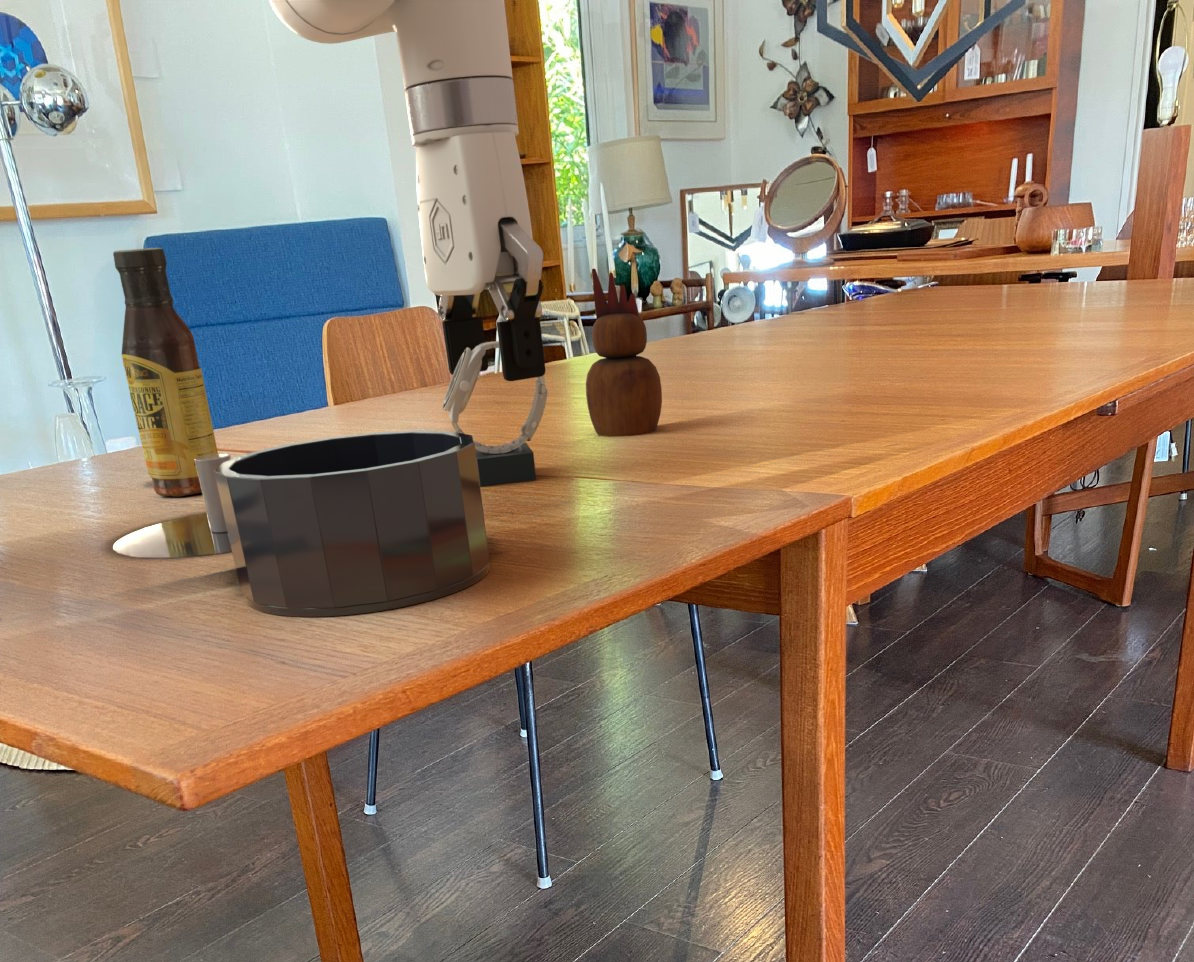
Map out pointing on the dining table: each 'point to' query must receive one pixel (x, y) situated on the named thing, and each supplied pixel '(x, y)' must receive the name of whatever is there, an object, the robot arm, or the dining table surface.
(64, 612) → the dining table surface
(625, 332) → the wooden figurine
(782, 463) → the dining table surface
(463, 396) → the watch
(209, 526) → the lid
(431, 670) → the dining table surface
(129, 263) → the sauce bottle
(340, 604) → the dark grey round bin
